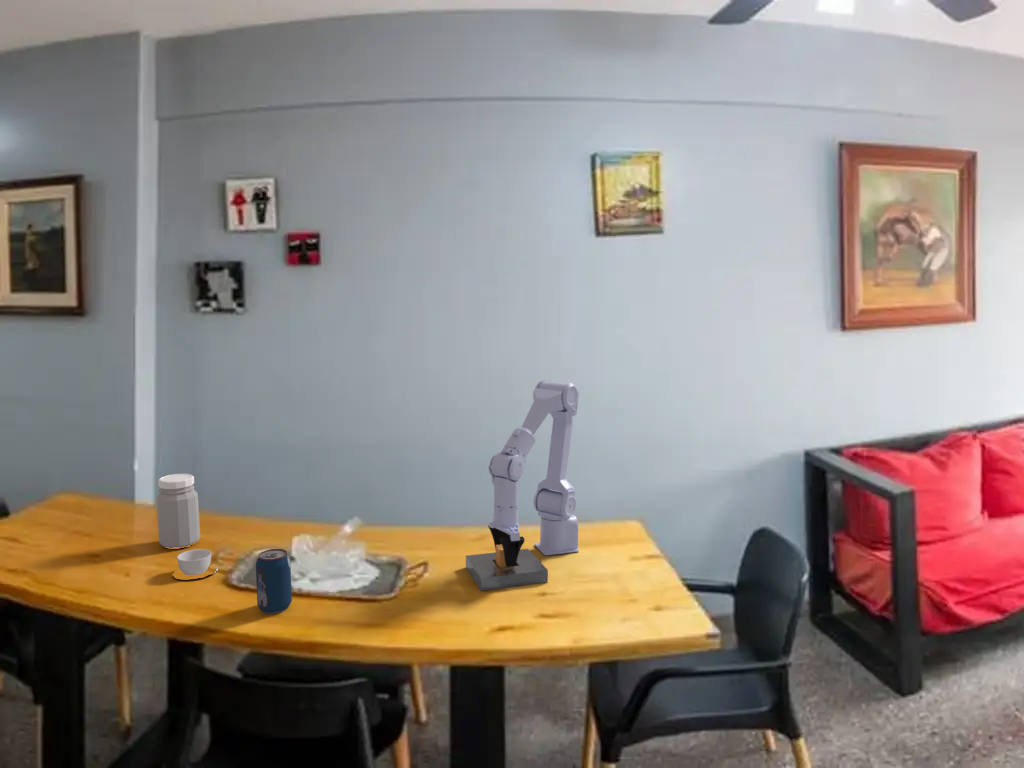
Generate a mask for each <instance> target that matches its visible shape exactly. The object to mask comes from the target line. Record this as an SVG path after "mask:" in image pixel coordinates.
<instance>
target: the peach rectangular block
mask: <svg viewBox="0 0 1024 768" xmlns="http://www.w3.org/2000/svg"><path fill="white" fill-rule="evenodd" d="M495 552H496V566H497V567H498V568H504V567H507V566H506V563H505V557H504V550H503V547H502V544H500V545H496V550H495ZM512 567H513V566H512Z"/></svg>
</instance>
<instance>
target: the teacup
mask: <svg viewBox="0 0 1024 768" xmlns="http://www.w3.org/2000/svg"><path fill="white" fill-rule="evenodd" d="M176 559H177V564H178V569H179V568H180V570H181V571H182V572H183V573H184V574H186V575H198V574H201V573H204V572H205V571H206V570H207V569H208V567H209V565H210V564H211V562H212V551H211V550H208V549H207V548H206V549H205V548H200V549H199V548H196V549H190V550H187V551H183V552H181V553H179V554H178V555H177V557H176ZM218 570H219V567H218V568H217V569H216V571H217V572H218ZM216 571H215V573H217V572H216ZM215 573H214V574H215Z"/></svg>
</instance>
